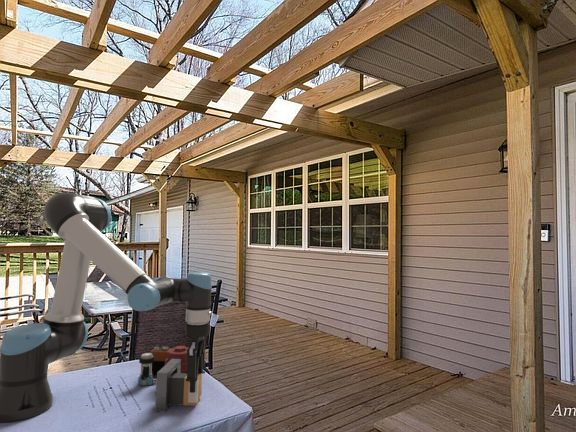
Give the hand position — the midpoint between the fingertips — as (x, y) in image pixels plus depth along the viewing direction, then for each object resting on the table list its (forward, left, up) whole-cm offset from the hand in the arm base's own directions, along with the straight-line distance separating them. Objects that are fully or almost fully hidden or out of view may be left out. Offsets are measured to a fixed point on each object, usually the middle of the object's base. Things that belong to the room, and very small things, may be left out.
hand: (194, 398), depth 114 cm
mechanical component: (-10, +15, -1) cm, 18 cm away
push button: (-20, +13, -1) cm, 24 cm away
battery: (-19, +22, -1) cm, 30 cm away
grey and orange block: (-5, 0, -1) cm, 5 cm away
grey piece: (-8, 0, -1) cm, 8 cm away
